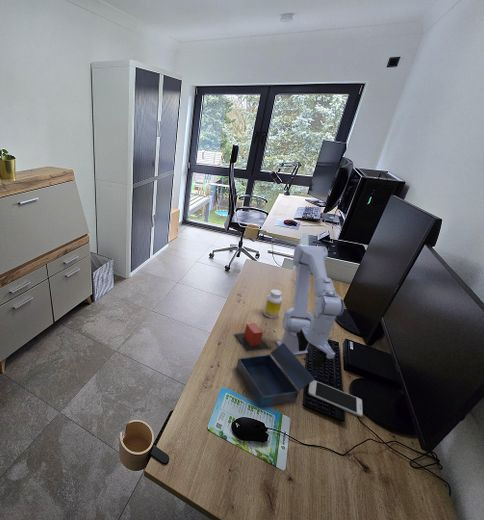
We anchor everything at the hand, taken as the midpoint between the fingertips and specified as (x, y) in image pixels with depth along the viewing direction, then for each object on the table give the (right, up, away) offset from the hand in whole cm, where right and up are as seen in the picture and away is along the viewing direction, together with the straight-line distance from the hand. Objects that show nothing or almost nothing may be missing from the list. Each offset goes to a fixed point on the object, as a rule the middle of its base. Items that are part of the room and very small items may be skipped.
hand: (308, 358), depth 101 cm
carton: (-15, -10, +2) cm, 18 cm away
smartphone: (+7, -13, -2) cm, 15 cm away
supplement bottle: (+4, +8, +39) cm, 40 cm away
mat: (-12, 0, +22) cm, 25 cm away
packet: (-12, 0, +22) cm, 25 cm away
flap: (-6, -2, 0) cm, 7 cm away
